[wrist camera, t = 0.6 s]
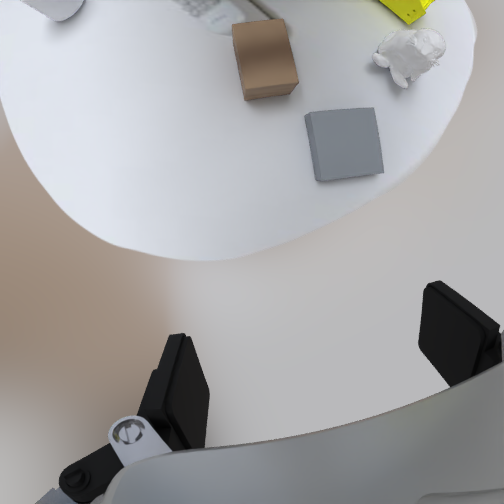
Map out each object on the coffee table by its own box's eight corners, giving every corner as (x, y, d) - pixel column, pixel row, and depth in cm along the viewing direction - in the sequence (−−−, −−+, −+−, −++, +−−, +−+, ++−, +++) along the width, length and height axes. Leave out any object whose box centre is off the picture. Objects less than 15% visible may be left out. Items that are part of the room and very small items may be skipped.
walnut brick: (233, 43, 30) (231, 24, 25) (276, 38, 30) (283, 18, 25) (244, 100, 33) (245, 89, 27) (289, 94, 33) (298, 82, 27)
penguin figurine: (422, 61, 31) (473, 40, 19) (394, 95, 33) (446, 78, 21) (390, 29, 30) (435, -3, 18) (359, 62, 31) (403, 31, 20)
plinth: (304, 115, 33) (310, 112, 31) (364, 110, 33) (373, 107, 30) (315, 179, 36) (321, 181, 33) (374, 171, 36) (384, 172, 33)
